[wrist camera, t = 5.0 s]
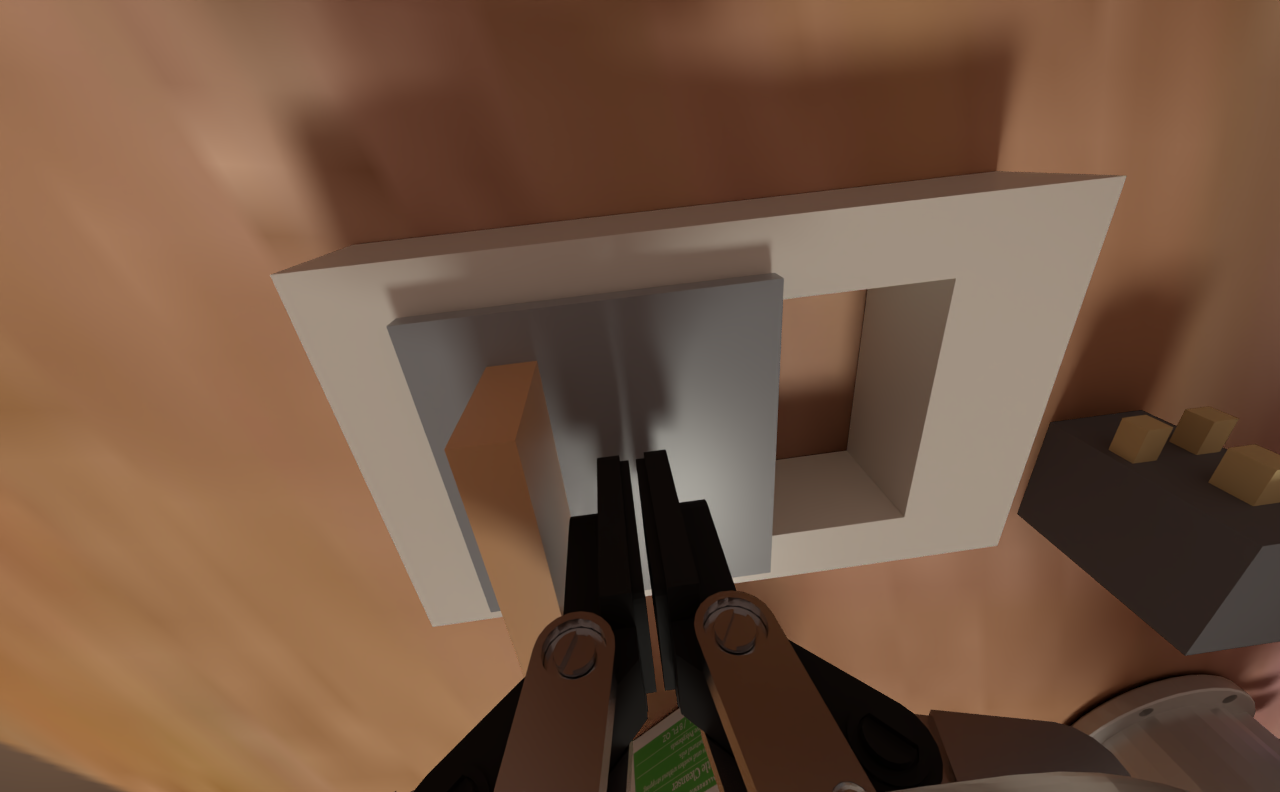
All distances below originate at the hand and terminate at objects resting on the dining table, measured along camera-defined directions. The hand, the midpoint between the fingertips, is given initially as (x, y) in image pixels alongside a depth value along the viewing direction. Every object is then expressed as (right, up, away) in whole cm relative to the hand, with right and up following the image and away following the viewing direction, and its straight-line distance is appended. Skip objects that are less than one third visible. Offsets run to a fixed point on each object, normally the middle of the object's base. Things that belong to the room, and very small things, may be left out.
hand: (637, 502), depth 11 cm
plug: (+19, 0, +9) cm, 22 cm away
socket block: (+2, +3, +6) cm, 7 cm away
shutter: (-1, +1, +2) cm, 2 cm away
